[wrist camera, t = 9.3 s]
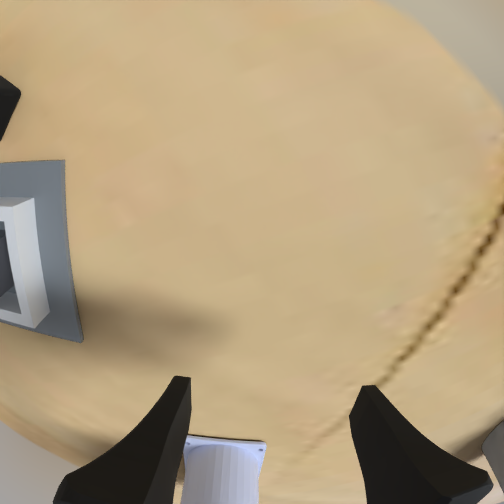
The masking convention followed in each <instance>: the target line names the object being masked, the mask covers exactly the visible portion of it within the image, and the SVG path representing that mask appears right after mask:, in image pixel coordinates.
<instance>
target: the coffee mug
mask: <svg viewBox="0 0 504 504" xmlns="http://www.w3.org/2000/svg"><path fill="white" fill-rule="evenodd" d="M482 451H483V453H484V455H485V457H486V459H487V460H488V462H489V464H490V466H491V468H492V470H493V472H494V474H495V476H496V478H497V480H498V482H499V484H500V486H501V488H502V491H503V493H504V421H502V422H501V423H500V424H499V425H498V426H497V427H496V428H495V429H494V430H493V431H492V432H491V433H490V434H489V435H488V437H487V438H486V439H485V441H484V443H483V445H482Z"/></svg>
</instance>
